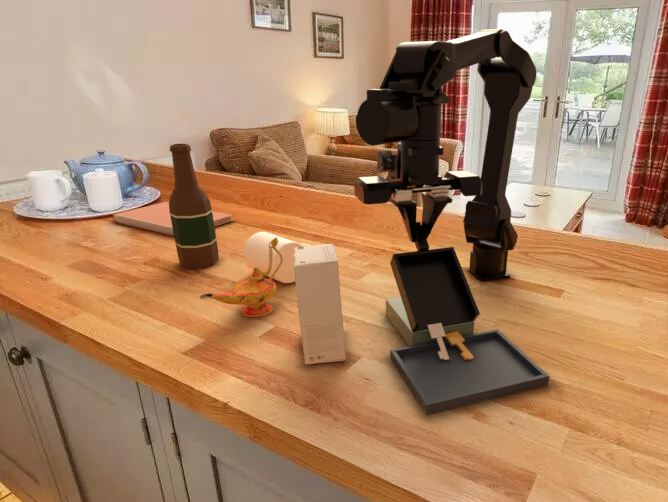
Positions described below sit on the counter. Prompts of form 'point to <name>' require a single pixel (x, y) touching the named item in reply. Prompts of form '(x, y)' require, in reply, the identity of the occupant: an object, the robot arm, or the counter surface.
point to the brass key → (459, 344)
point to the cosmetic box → (319, 303)
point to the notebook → (159, 218)
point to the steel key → (438, 339)
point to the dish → (433, 286)
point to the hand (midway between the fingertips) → (418, 240)
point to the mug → (259, 256)
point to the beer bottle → (191, 214)
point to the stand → (401, 323)
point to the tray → (466, 371)
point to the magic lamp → (252, 290)
